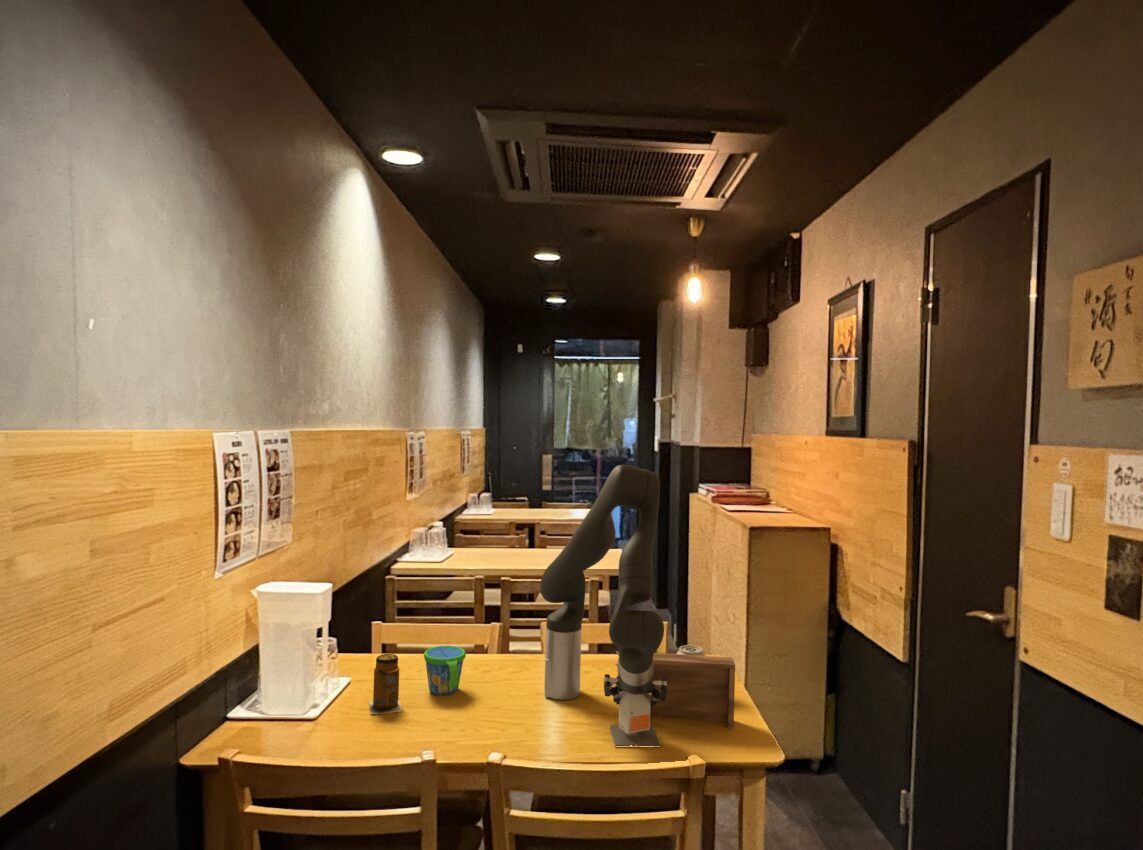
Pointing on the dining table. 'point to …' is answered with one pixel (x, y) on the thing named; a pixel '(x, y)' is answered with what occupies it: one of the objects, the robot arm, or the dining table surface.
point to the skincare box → (634, 713)
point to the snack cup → (444, 668)
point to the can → (690, 650)
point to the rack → (696, 687)
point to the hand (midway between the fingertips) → (634, 701)
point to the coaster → (634, 737)
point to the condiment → (386, 685)
